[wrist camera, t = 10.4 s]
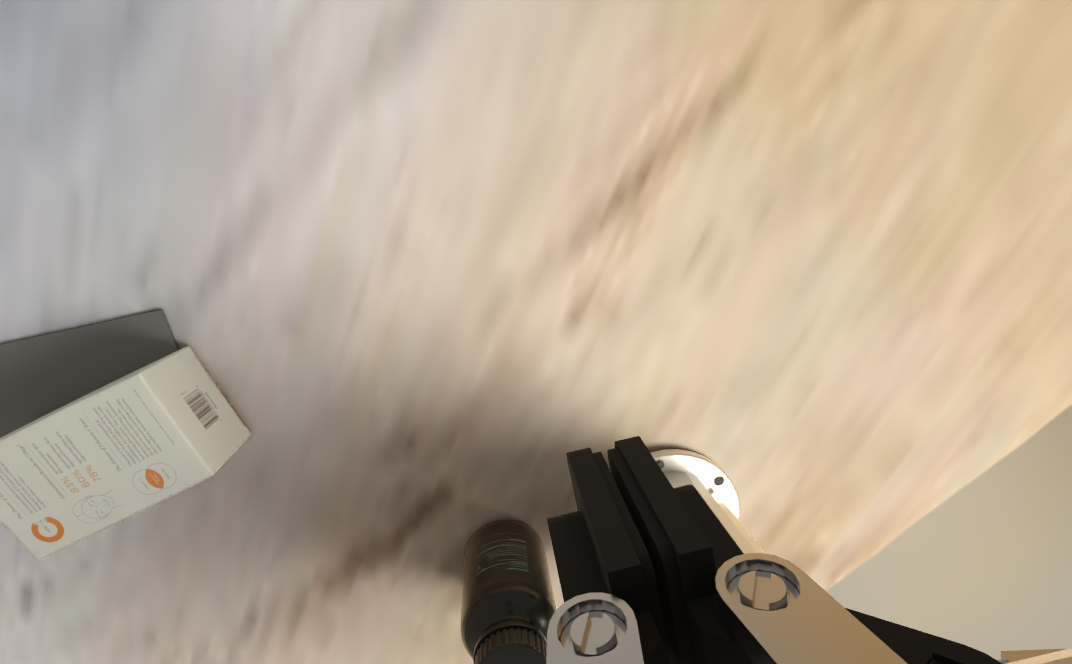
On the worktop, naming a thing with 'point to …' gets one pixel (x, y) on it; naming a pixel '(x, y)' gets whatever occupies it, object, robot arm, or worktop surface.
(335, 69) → the worktop surface
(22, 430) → the small box
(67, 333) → the mat
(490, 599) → the supplement bottle
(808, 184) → the worktop surface
